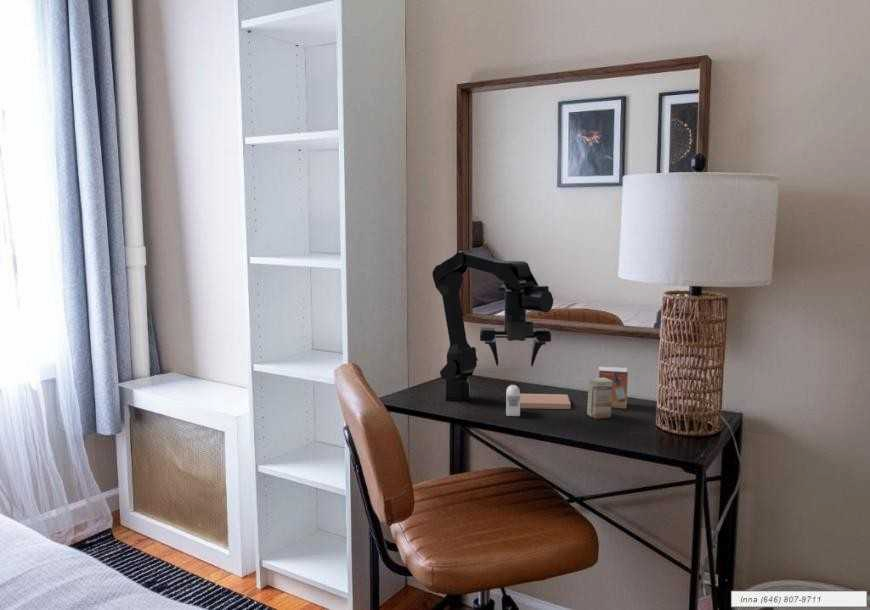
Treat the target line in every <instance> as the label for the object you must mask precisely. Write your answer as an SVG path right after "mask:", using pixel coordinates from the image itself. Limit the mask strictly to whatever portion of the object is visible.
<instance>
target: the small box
mask: <svg viewBox="0 0 870 610" xmlns="http://www.w3.org/2000/svg"><path fill="white" fill-rule="evenodd" d="M602 377H605V378H607V379H610V380H612V381H613V386H612V403H611V408H616V409H627V404H628V403H627V402H628V401H627V400H628V380H629V378H628V377H629V370H628V367H614V366H613V367H611V366H599V367H598V377H597V378H602Z"/></svg>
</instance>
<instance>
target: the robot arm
mask: <svg viewBox="0 0 870 610" xmlns="http://www.w3.org/2000/svg"><path fill="white" fill-rule="evenodd" d="M529 265H530V264H529V263H528V262H526V261H525V260H524V261H523V260H501V259H498V258H494V257H490V256H487V255H483V254H479V253H477V252H476V253H475V252H474V251H472V250H459V251H457V252H456V253H455V254H454V255H453V256H451V257H449V258H448V259H446V260H444V261H442V262H441V263H440V264H437V265H436V266H435V267H434V269H433V270H432V280H433V282H434V286H435V288H436V289H437V291H438V292H439V294H440V295H441V298H442V302H443V303H442V304H443V310H444V315H445V321H446V322H445V323H446V327H447V333H448V340H449V347H448V349H447V353H446V364H445V365H444V367H443V368H442V369H440V371H439V374H440V378H441V379H442V380H445V398H444V400H445V401H452V402H453V401H454V402H455V401H460V402H462V401H463V402H466V401H467V402H468V401H469V398H470V397H471V396H470V394H471V392H470V391H471V389H470V385H471V384H470V383H471V382H470V381H469V380H468V378H470V377H473V375H474V371H475V369H476V368H477V364H478V362H477V361H479V359H478V356H477V349H476V347H475V346H472V347H471V345H470V344H469V342H468V339H467V333H466V328H465V322H464V316H463V309H462V304H461V303H462V302H461V297H460V296H461V295H460V291H461V289H462V286H463V275H465V274H466V273H467V272H468V270H469V269H470V268H471V269H473V270H478V271H482V272H485V273H488V274H491V275H493V276H494V277H495V276H496V278H497V279H498V281H501V282H503V283H502V285H500V286H499V287H497V289H498V292H504V330H496V329H495V327H481V328H480V330H479V340H480V341H481V342H484V344H485V345H488V346H489V347H490V350H491V352H492V354H493V359H494V363H495V364H496V367H499V356H498V349H497V341H496V340H497V339H499V338H500V339H501V338H503V339H505V338H506V340H507V341H508V342H513V341H520V342H525V341H526V339H533V340H532V348H531V357H530V367H534V363H535V361H536V358H537V355H538V353H539V350H540V349H541V347H542V346H545V345H546V344H547V343H548V342H549V343H550V342H551V341H552V332H551V330H550V328H548V327H534V321H527V311H529V312H530V311H531V312H532V311H533V312H537V313H544V314H547V313H549V312H550V311H551V309H553V306H554V305H553V304H554V298H553V294H552V292H551V291H550V290H549V289H550V288H549V286H548V285H539V283H538V282H537V280H536V278H535V277H534V275H533V273H532V271H531V268H530V266H529Z"/></svg>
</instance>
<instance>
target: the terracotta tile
mask: <svg viewBox="0 0 870 610" xmlns="http://www.w3.org/2000/svg"><path fill="white" fill-rule="evenodd" d="M571 406H572V405H571V401H570V398H569V396H568V394H558V393H557V394H556V393H553V394H552V393H520V409H540V410H541V409H545V410H551V409H552V410H571V408H572V407H571Z"/></svg>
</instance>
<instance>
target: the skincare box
mask: <svg viewBox="0 0 870 610" xmlns="http://www.w3.org/2000/svg"><path fill="white" fill-rule="evenodd" d="M612 386H613V381H612V380H610V379H607V378H605V377H602V378H598V377H593V378H592V377H591V378H588V389H587V390H588V391H587V392H588V394H587V408H586V409H587V411H586V414H587V416H589V417H591V418H594V419H595V420H596V419H606V418H607V419H608V418H611V417H612V407H611V403H612Z"/></svg>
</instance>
